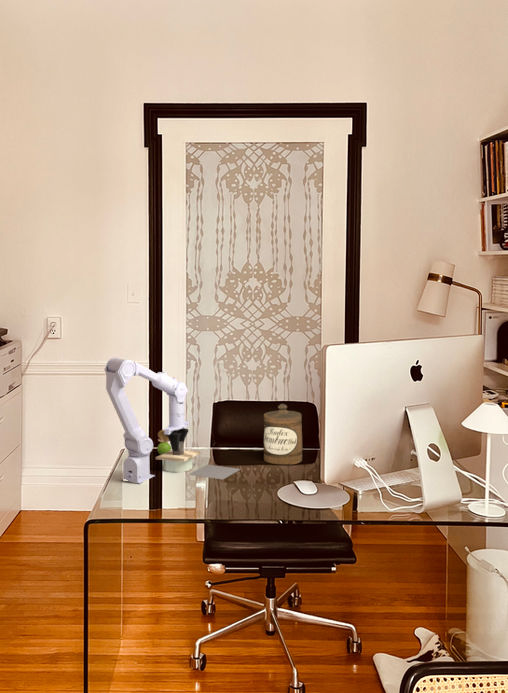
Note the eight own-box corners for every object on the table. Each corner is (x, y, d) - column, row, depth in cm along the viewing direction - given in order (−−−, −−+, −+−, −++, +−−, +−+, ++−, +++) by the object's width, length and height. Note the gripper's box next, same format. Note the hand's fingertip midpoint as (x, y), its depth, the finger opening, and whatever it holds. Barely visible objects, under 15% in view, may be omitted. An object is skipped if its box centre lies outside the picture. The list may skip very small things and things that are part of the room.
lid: (184, 461, 254) (183, 446, 254) (155, 459, 259) (155, 445, 259) (200, 453, 265) (200, 439, 265) (173, 451, 270) (172, 437, 270)
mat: (223, 480, 249) (223, 479, 249) (188, 475, 255) (188, 474, 255) (240, 470, 262) (240, 469, 262) (207, 465, 268) (207, 464, 267)
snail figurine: (172, 457, 280) (172, 427, 278) (156, 457, 280) (155, 427, 278) (174, 453, 285) (174, 424, 284) (158, 453, 285) (158, 424, 284)
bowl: (182, 474, 256) (182, 462, 256) (158, 471, 261) (158, 459, 260) (196, 467, 265) (196, 455, 265) (173, 464, 270) (173, 452, 269)
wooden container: (258, 463, 270) (258, 406, 268) (270, 453, 284) (270, 399, 282) (296, 467, 266) (296, 409, 263) (306, 456, 280) (306, 401, 277)
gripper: (175, 418, 252) (176, 455, 254) (196, 410, 265) (196, 446, 267) (159, 416, 255) (159, 453, 257) (180, 409, 268) (180, 444, 270)
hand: (177, 449), depth 262 cm, fingers closed on lid, 3 cm apart
